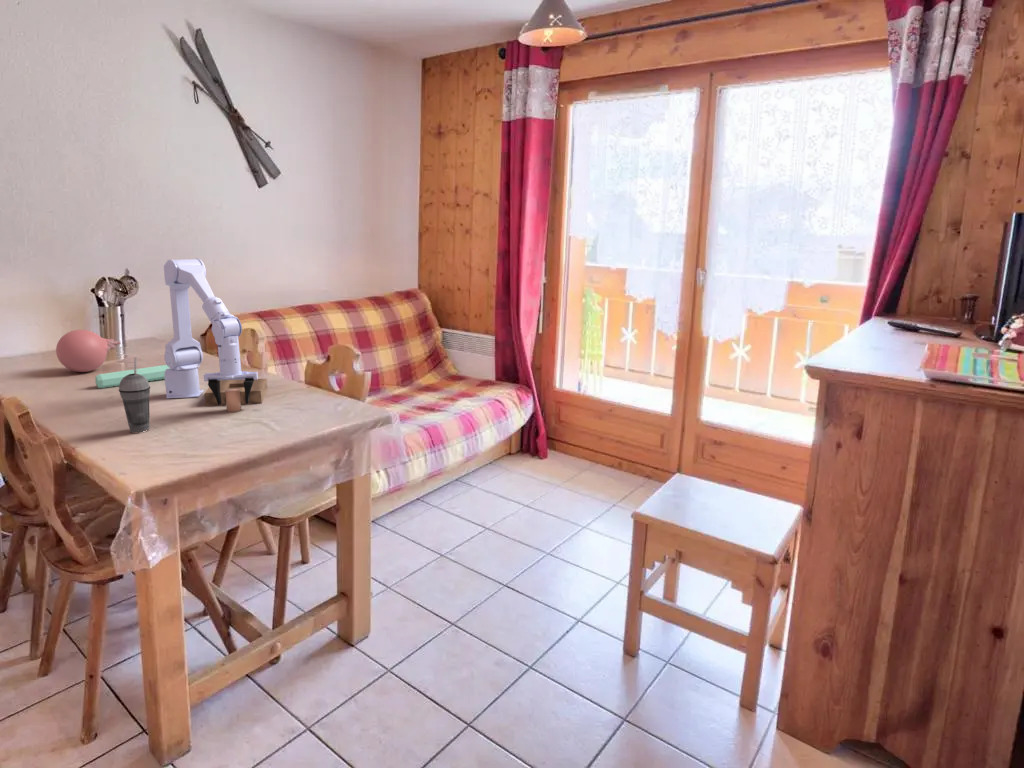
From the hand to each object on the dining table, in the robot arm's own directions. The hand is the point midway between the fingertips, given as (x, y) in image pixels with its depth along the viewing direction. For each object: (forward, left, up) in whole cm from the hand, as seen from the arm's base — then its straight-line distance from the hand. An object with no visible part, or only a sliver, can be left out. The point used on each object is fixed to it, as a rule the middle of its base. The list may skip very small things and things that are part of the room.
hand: (233, 403), depth 191 cm
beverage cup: (-21, -16, -2) cm, 26 cm away
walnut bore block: (-1, +14, -2) cm, 14 cm away
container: (-37, +40, -2) cm, 55 cm away
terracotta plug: (0, 0, -2) cm, 2 cm away
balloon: (-58, +61, -2) cm, 84 cm away
